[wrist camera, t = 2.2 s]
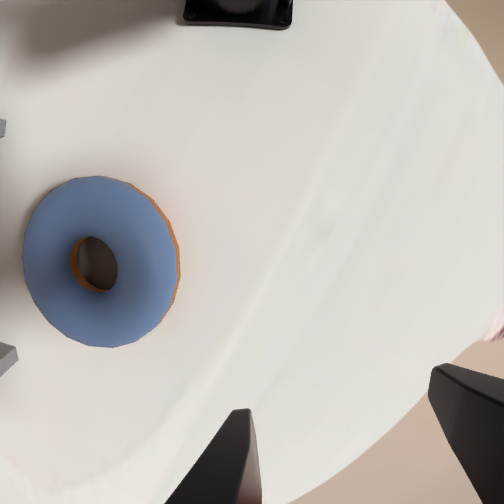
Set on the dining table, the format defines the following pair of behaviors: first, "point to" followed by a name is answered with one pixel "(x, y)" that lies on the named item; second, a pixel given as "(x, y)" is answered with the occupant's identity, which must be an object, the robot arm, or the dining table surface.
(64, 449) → the dining table surface
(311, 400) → the dining table surface
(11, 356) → the box
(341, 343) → the dining table surface
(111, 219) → the doughnut
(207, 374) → the dining table surface
